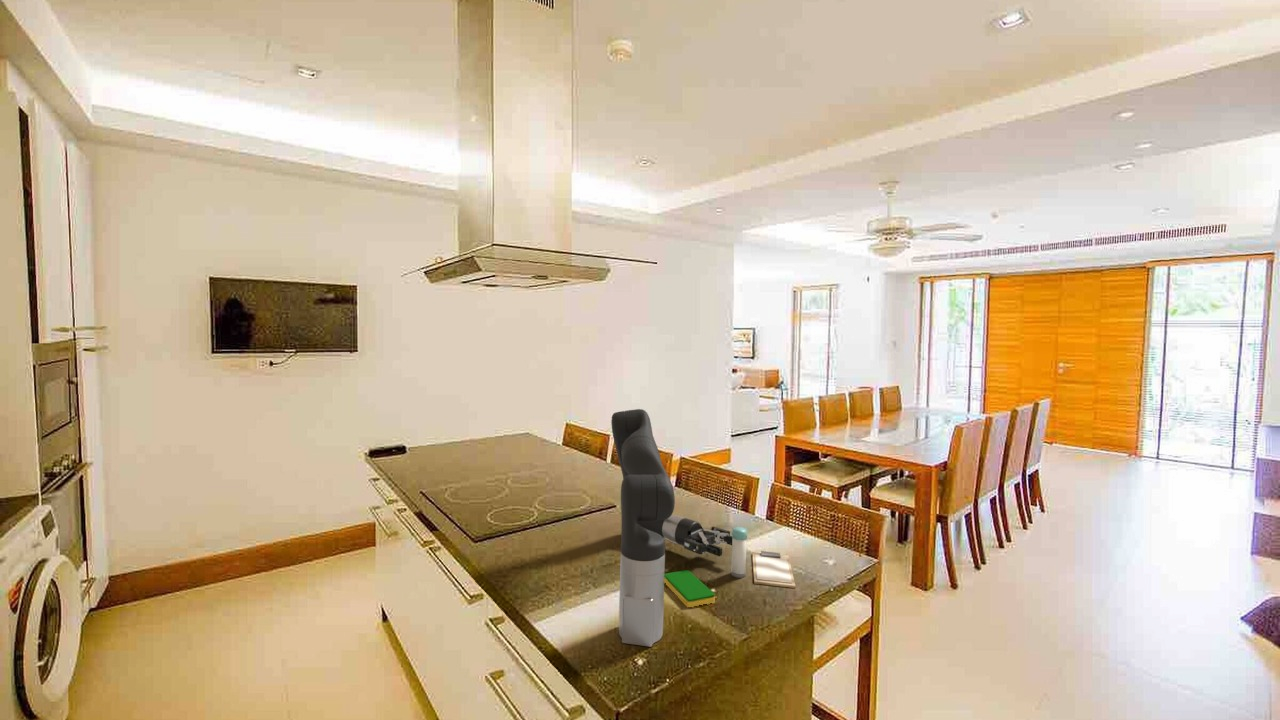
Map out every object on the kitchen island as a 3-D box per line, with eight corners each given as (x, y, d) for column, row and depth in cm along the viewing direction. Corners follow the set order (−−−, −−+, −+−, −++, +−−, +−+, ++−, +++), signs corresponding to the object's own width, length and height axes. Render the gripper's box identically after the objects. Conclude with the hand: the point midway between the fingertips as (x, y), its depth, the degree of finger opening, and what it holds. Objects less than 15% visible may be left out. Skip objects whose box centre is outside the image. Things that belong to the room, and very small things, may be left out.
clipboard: (795, 588, 130) (795, 583, 130) (754, 583, 132) (754, 578, 132) (788, 557, 148) (788, 553, 148) (752, 554, 150) (752, 549, 150)
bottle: (745, 578, 135) (747, 533, 134) (730, 577, 135) (732, 531, 135) (745, 572, 138) (747, 527, 138) (730, 570, 139) (732, 526, 138)
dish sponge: (687, 578, 135) (688, 569, 135) (715, 604, 122) (715, 594, 122) (662, 582, 132) (662, 573, 132) (688, 610, 120) (688, 599, 119)
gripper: (666, 524, 144) (715, 541, 133) (697, 512, 154) (745, 526, 143) (665, 551, 144) (714, 570, 133) (696, 537, 155) (744, 553, 144)
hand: (730, 547), depth 138 cm, fingers open, 8 cm apart
